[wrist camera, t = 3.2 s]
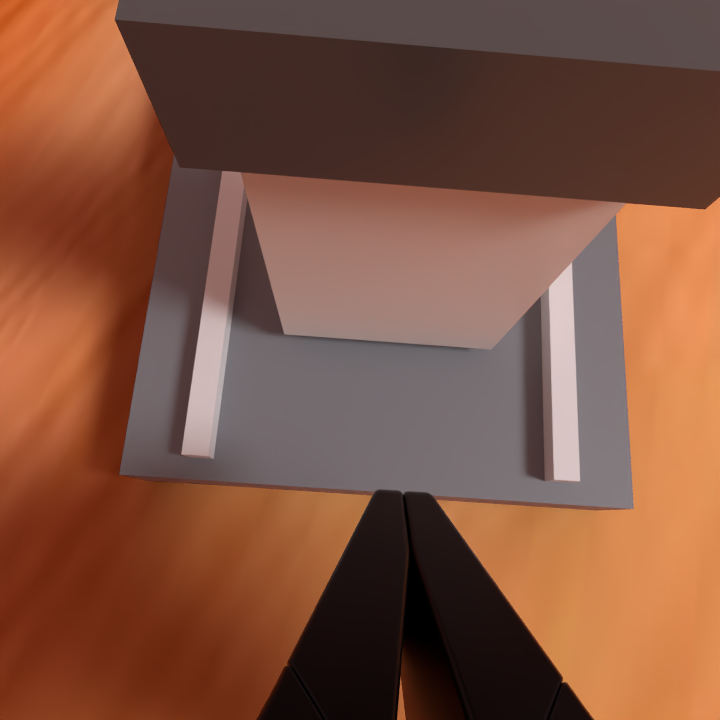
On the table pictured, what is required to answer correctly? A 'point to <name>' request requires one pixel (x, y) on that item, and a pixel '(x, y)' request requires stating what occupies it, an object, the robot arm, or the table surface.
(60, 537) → the table surface
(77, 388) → the table surface
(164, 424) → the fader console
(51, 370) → the table surface
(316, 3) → the fader knob
